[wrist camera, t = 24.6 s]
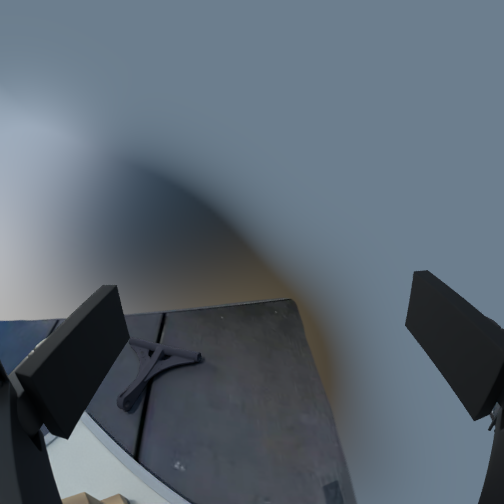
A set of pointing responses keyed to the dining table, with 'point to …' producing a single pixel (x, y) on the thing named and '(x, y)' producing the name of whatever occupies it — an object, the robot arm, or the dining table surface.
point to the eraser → (94, 499)
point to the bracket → (152, 366)
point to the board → (102, 468)
